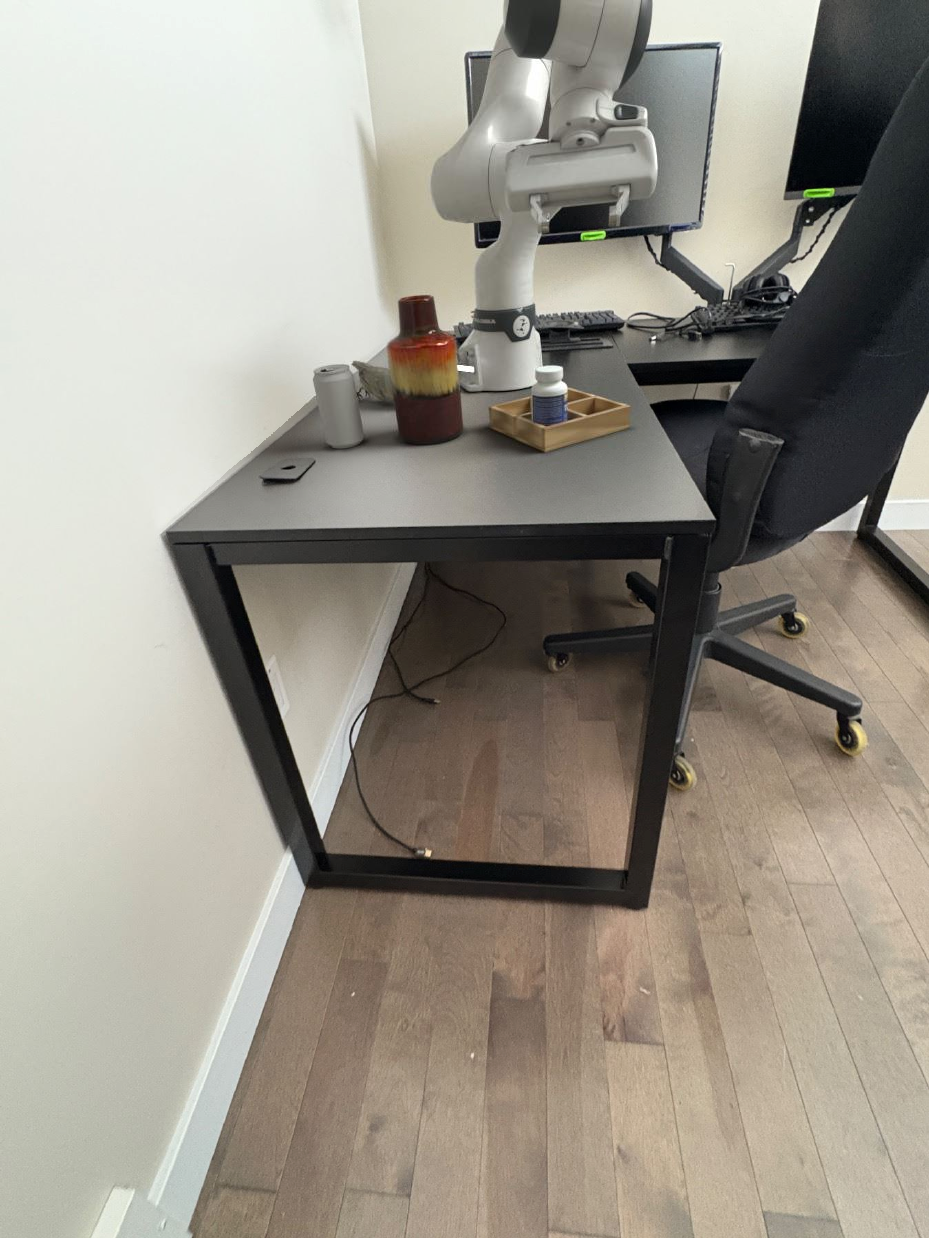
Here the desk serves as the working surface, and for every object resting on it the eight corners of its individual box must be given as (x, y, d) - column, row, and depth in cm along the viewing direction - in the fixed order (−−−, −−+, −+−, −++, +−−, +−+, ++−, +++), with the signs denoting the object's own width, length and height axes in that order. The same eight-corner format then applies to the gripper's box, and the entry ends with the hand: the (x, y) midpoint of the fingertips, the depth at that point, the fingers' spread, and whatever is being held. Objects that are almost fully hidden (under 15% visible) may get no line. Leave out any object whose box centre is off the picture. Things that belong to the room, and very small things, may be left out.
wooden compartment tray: (489, 427, 101) (488, 406, 99) (567, 407, 106) (567, 387, 104) (544, 452, 89) (544, 429, 87) (629, 428, 94) (630, 405, 92)
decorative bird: (406, 411, 113) (401, 370, 109) (350, 402, 122) (343, 364, 118) (426, 404, 116) (421, 363, 112) (370, 396, 125) (363, 358, 121)
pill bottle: (571, 438, 91) (572, 370, 85) (537, 442, 90) (536, 375, 85) (561, 427, 95) (561, 362, 90) (528, 432, 95) (526, 367, 89)
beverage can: (319, 446, 100) (302, 370, 94) (349, 434, 104) (335, 361, 97) (342, 452, 97) (326, 374, 90) (373, 440, 100) (359, 364, 93)
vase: (474, 426, 102) (464, 291, 90) (442, 447, 94) (427, 303, 83) (421, 422, 106) (405, 293, 95) (386, 442, 99) (364, 304, 87)
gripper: (503, 126, 82) (498, 214, 79) (659, 106, 78) (659, 198, 76) (508, 168, 88) (504, 251, 85) (653, 151, 84) (653, 237, 82)
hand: (578, 226), depth 81 cm, fingers open, 8 cm apart
